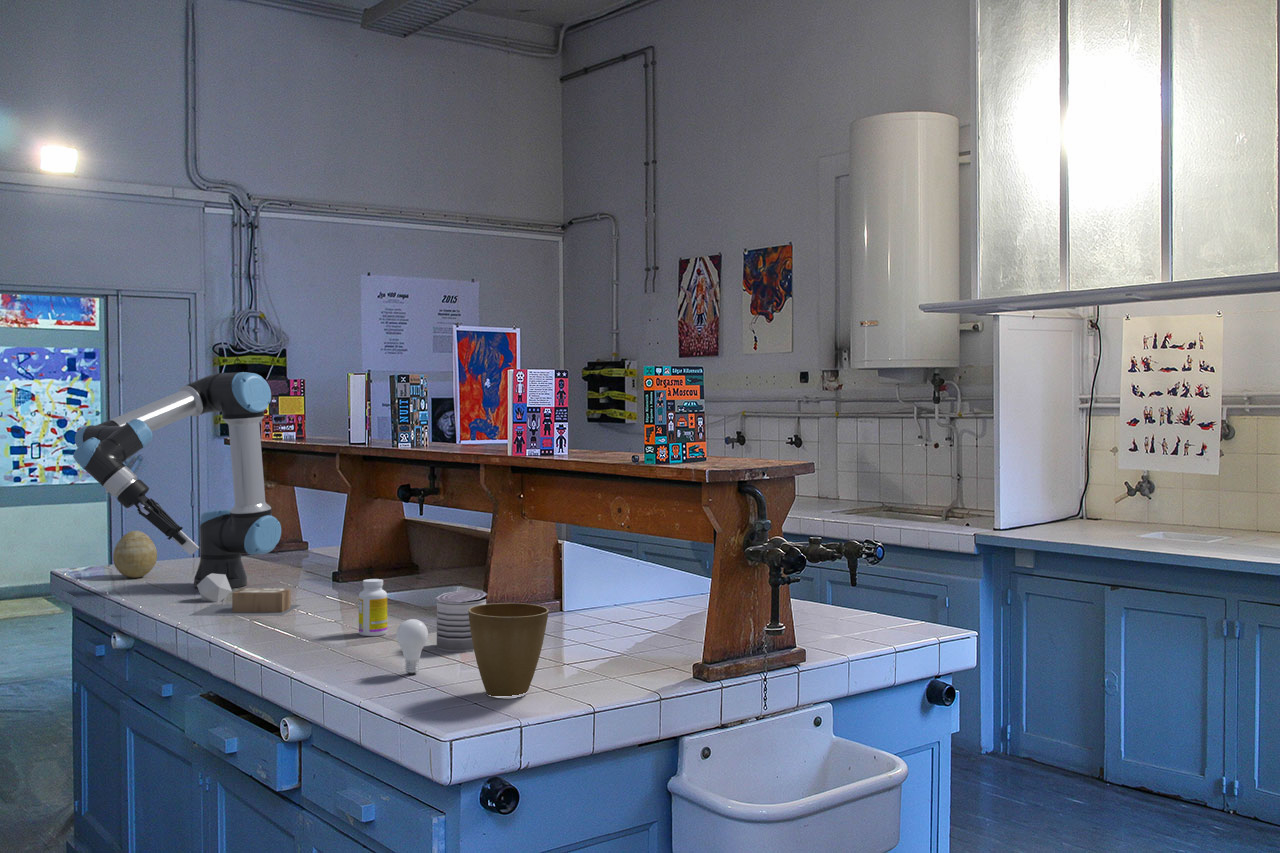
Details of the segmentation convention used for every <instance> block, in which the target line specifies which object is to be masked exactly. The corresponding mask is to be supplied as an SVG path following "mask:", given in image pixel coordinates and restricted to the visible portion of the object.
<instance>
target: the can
mask: <svg viewBox="0 0 1280 853" xmlns="http://www.w3.org/2000/svg"><path fill="white" fill-rule="evenodd" d="M486 596H489V594H488V593H487V592H485V591H483V590H469V589H468V590H466V589H463V590H456V591H450V592H444V593H442V594H440V595H438V596H436V597H435V598H434V599H435V600H436V649H437V650H438V651H443V652H446V651H447V652H448V653H467V652H466V651H469V652H474V651H473V650H474V647H473V642H472V637H471V630H470V622H469V613H468V609H469V608H471V607H473V606H477V605H484V604H487V598H486Z"/></svg>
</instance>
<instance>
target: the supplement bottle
mask: <svg viewBox="0 0 1280 853" xmlns="http://www.w3.org/2000/svg"><path fill="white" fill-rule="evenodd" d="M383 585H384V579H381V578H380V579H379V578H369V579H363V580H362V586H363V590H361V591H360V592H359V595H358V634H359V635H360V636H363V637H379V636H384V635H386V634H387V633H388V593H387V591H386V590H384V589H383Z"/></svg>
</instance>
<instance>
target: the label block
mask: <svg viewBox="0 0 1280 853" xmlns="http://www.w3.org/2000/svg"><path fill="white" fill-rule="evenodd" d="M291 591H292V589H291V588H240V589H239V590H236V591H234V592H231V595H232V596H231V598H232V599H231V600H232V601H231V603H232V604H231V605H232V612H284V611H286V610H288V609H289V608H291V605H292V602H291V599H292V598H291V595H292V593H291Z"/></svg>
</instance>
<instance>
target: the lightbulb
mask: <svg viewBox="0 0 1280 853" xmlns="http://www.w3.org/2000/svg"><path fill="white" fill-rule="evenodd" d="M395 639H396V643H397V644H398V647H400V649H401V651H402V654H403V658H404V664H405V668H404V669H405V670H404V672H405V673H407V674H409V675H415V674H416V673H418V672H419V670H420V668H419V667H420V666H419V664H420V658H421V654H422V650H423V648H424V647H425V646H426V645H427V642H428V639H429V630H428V628H427V626H426V624H425V623H424V622H423V621H421V620H419V619H416V618H410V619H406V620H405V621H402V623H400V624H399V625H398V627H397V629H396V633H395Z"/></svg>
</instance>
